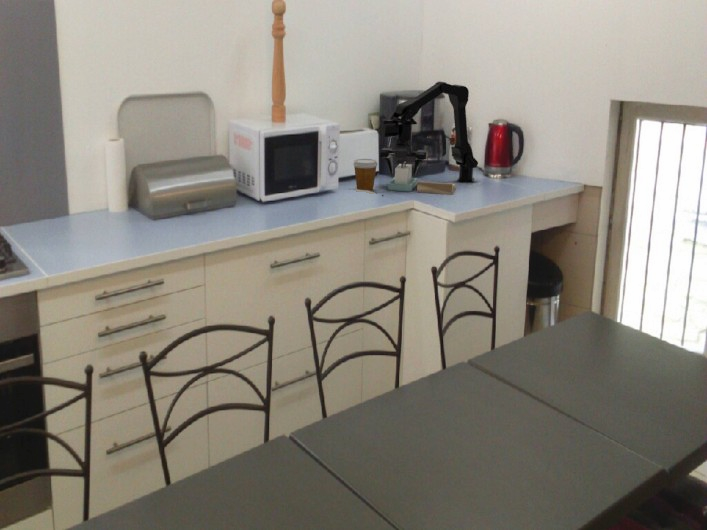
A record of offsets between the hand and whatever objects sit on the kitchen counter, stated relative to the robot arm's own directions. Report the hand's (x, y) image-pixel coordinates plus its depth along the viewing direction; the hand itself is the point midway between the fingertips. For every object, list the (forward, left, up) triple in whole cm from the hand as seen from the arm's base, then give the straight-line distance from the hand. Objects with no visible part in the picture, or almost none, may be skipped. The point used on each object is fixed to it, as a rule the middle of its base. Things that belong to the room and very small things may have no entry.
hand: (403, 174), depth 305 cm
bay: (+1, +14, -5) cm, 15 cm away
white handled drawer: (0, 0, -4) cm, 5 cm away
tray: (0, 0, -5) cm, 5 cm away
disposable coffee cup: (+11, -13, -5) cm, 18 cm away
